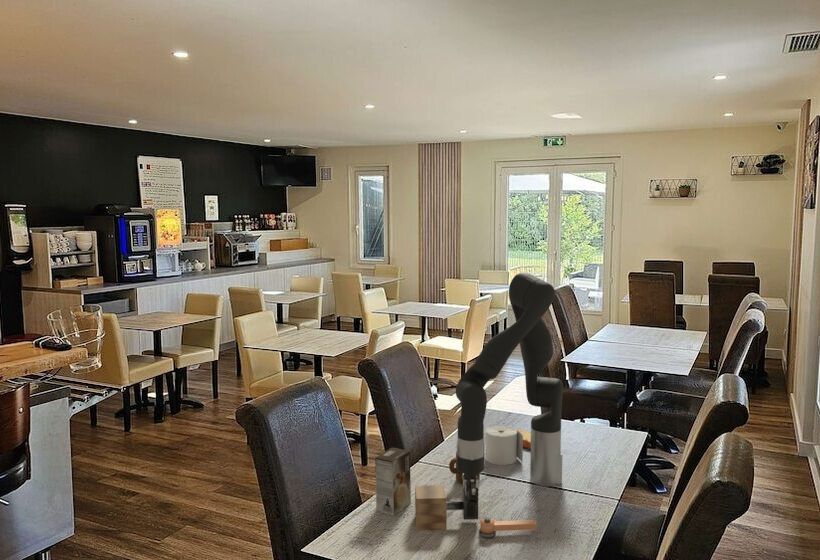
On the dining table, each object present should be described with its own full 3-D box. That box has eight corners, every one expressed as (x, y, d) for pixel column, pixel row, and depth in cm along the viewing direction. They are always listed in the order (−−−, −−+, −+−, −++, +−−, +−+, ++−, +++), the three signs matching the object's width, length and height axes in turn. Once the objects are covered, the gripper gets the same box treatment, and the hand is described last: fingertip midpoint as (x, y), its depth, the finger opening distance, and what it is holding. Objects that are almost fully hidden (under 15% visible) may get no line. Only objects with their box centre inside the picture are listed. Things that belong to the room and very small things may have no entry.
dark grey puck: (494, 530, 169) (494, 526, 169) (497, 538, 164) (497, 535, 164) (477, 530, 168) (477, 527, 168) (480, 539, 164) (480, 535, 164)
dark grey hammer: (476, 514, 175) (476, 488, 174) (478, 519, 172) (478, 493, 171) (415, 515, 174) (415, 489, 173) (415, 521, 171) (415, 494, 170)
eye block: (443, 515, 177) (443, 485, 176) (446, 530, 169) (446, 498, 168) (415, 516, 177) (415, 485, 176) (416, 530, 169) (416, 498, 168)
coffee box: (393, 498, 188) (392, 446, 186) (411, 503, 185) (411, 450, 183) (375, 510, 180) (374, 456, 178) (394, 516, 177) (393, 461, 175)
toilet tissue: (484, 453, 222) (484, 425, 221) (518, 453, 222) (518, 425, 221) (486, 465, 211) (487, 436, 210) (522, 465, 211) (523, 436, 210)
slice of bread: (499, 432, 243) (499, 423, 243) (547, 435, 240) (547, 425, 239) (496, 450, 226) (496, 439, 225) (548, 453, 222) (548, 443, 222)
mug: (459, 492, 191) (459, 462, 190) (441, 484, 197) (440, 455, 196) (484, 480, 199) (484, 452, 198) (466, 473, 205) (466, 445, 204)
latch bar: (536, 531, 165) (537, 520, 165) (481, 533, 164) (481, 522, 164) (533, 524, 169) (533, 514, 168) (479, 526, 168) (479, 516, 168)
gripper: (453, 443, 178) (453, 501, 180) (459, 463, 164) (459, 526, 166) (480, 442, 178) (480, 501, 180) (488, 462, 164) (488, 525, 166)
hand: (470, 512), depth 173 cm, fingers closed on dark grey hammer, 3 cm apart
